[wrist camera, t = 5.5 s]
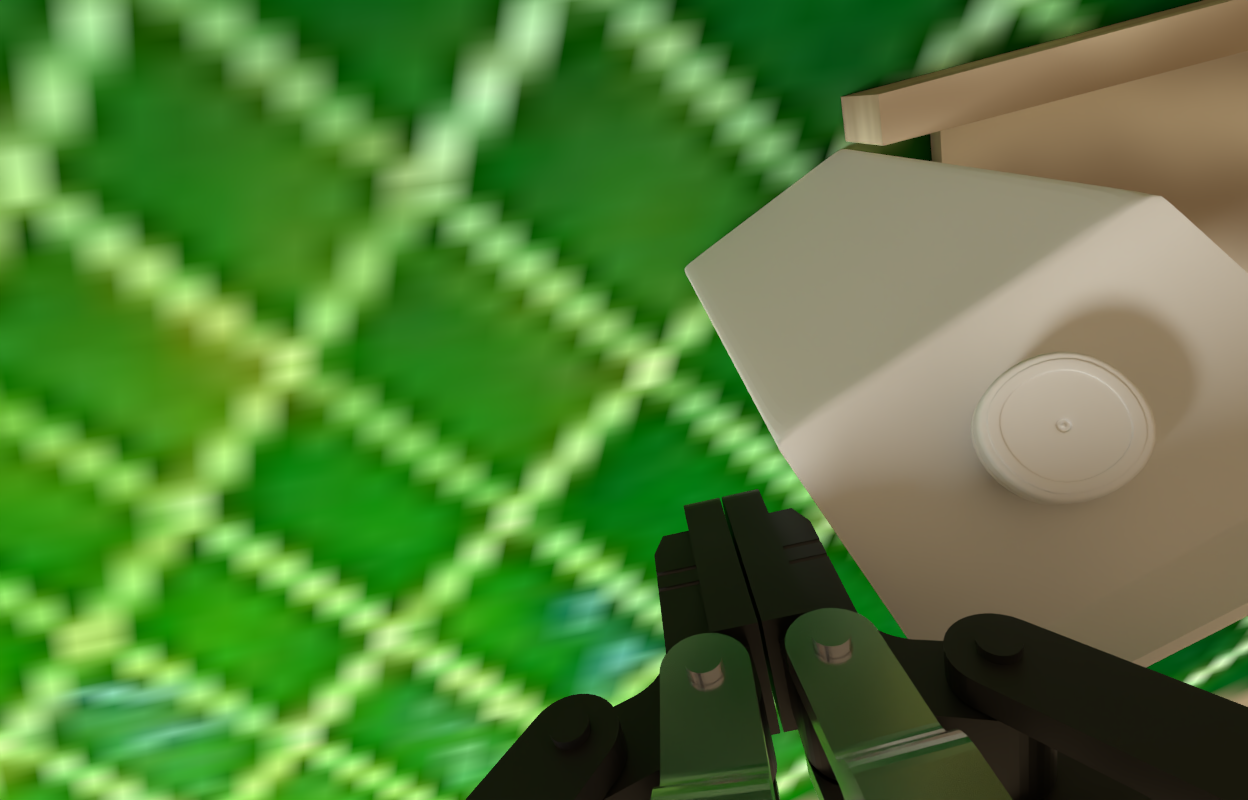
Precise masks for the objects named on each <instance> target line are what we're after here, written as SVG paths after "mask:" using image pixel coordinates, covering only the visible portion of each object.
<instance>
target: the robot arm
mask: <svg viewBox="0 0 1248 800" xmlns="http://www.w3.org/2000/svg"><path fill="white" fill-rule="evenodd" d="M722 502H723V507H724V511H723V508H722V505H721V501H720V498H716V499H712V500H707V501H702V502H698V503H693V504H689V505H684V510H685V515H686V519H687V524H688V529H689V531H686V532H681V533H676V534H672V535H667V536H663V538H662V540H661V542H660V544H659V546H658V548H657V551H656V553H655V563H656V572H657V580H658V588H659V597H660V605H661V613H662V622H663V630H664V638H665V647H666V655H665V657H664V659H663V661H662V663H661V667H660V674H659V675H658V677H657V678H656V679H655V680H654V682H653V683H652V684H651V685H649V686H648V687H647V688H646V689H645V690H643V691H642V692H641V693H639V694H637V695H636V696H634V697H632V698H630V699H628V700H626V701H624V702H622V703H620V704H618V705H616V706H614V707H613V706H612V705H611V704H610V703H609V702H608V701H607V700H605V699H603V698H602V697H599V696H596V695H591V694H577V695H571V696H568V697H565V698H563V699H560V700H558V701H556V702H554V703H553V704H551V705H550V706H548V707H547V708H546V709H545V710H543V711H542V712H541V713H540V714H539V715H538V716H537V718H536V719H535V720H534V721H533V722H532V723H531V725H530V726H529V727H528V728H527V729H526V730H525V731H524V733H523V734H522V735H521V736H520V737H519V738H518V740H517V741H516V742H515V743H514V744H513V745H512V746H511V748H510V749H509V750H508V751H507V752H506V753H505V755H504V756H503V757H502V758H501V759H500V760H499V761H498V763H497V764H496V765H495V766H494V767H493V768H492V770H491V771H490V772H489V773H488V774H487V775H486V777H485V778H484V779H483V780H482V781H481V782H480V783H479V785H478V786H477V787H476V788H475V789H474V790H473V792H472V793H471V794H470V795H469V796H468V797H467V798H466V800H780V797H779V792H778V786H777V781H776V772H777V762H776V756H775V751H774V747H773V742H772V737H771V735H773V734H778V733H780V729H779V724H778V719H777V714H776V709H775V704H774V700H775V703H776V707H777V710H778V714H779V717H780V720H781V724H782V727H783V730H784V732H787V731H792V730H797V729H798V731H799V734H800V737H801V741H802V744H803V747H804V750H805V756H806V761H807V766H808V772H809V775H810V778H811V781H812V783H813V786H814V788H815V791H816V793H817V796H818V798H819V800H1248V707H1246V706H1243V705H1241V704H1238V703H1236V702H1233V701H1230V700H1228V699H1225V698H1223V697H1220V696H1218V695H1215V694H1212V693H1210V692H1207V691H1205V690H1202V689H1199V688H1197V687H1194V686H1192V685H1189V684H1187V683H1184V682H1181V681H1179V680H1176V679H1174V678H1171V677H1168V676H1166V675H1163V674H1161V673H1158V672H1156V671H1153V670H1150V669H1148V668H1145V667H1143V666H1140V665H1137V664H1135V663H1132V662H1130V661H1127V660H1125V659H1122V658H1119V657H1117V656H1114V655H1112V654H1109V653H1106V652H1104V651H1101V650H1099V649H1096V648H1094V647H1091V646H1088V645H1086V644H1083V643H1081V642H1078V641H1075V640H1073V639H1070V638H1068V637H1065V636H1063V635H1060V634H1057V633H1055V632H1052V631H1050V630H1047V629H1044V628H1042V627H1039V626H1037V625H1034V624H1032V623H1029V622H1026V621H1024V620H1021V619H1018V618H1015V617H1012V616H1007V615H1003V614H993V613H983V614H975V615H971V616H967V617H964V618H962V619H960V620H958V621H956V622H955V623H953V624H952V625H951V626H950V627H949V628H948V630H947V632H946V633H945V636H944V640H943V641H935V640H915V639H905V638H900V637H895V636H892V635H889V634H886V633H883V632H881V631H879V630H877V628H876V627H875V626H874V625H873V623H872V622H870V621H869V620H868V619H867V618H865V617H864V616H862V615H860V614H858V613H857V611H856V609H855V607H854V605H853V604H852V602H851V600H850V598H849V596H848V594H847V592H846V590H845V588H844V586H843V584H842V582H841V580H840V578H839V576H838V574H837V572H836V571H835V569H834V567H833V565H832V563H831V561H830V559H829V557H827V554H826V551H825V549H824V547H823V545H822V543H821V542H820V541H819V537H818V536H817V534H816V532H815V530H814V528H813V526H812V524H811V522H810V521H809V520H808V519H806V518H805V517H803V516H802V515H801V514H799V513H798V512H796V511H795V510H793V509H792V508H790V509H786V510H781V511H777V512H772V513H768V511H767V508H766V506H765V504H764V501H763V499H762V496H761V494H760V492H759V490H758V489H756V490H752V491H747V492H743V493H738V494H734V495H729V496H725V497H722ZM724 512H725V514H724ZM772 693H773V695H772ZM773 697H774V699H773Z"/></svg>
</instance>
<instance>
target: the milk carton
mask: <svg viewBox="0 0 1248 800" xmlns="http://www.w3.org/2000/svg"><path fill="white" fill-rule="evenodd" d="M685 273H686V275H687V277H688V279H689V281H690V282H691V284H692V286H693V288H694V290H695V292H696V294H697V296H698V297H699V299H700V301H701V303H702V305H703V307H704V309H705V311H706V312H707V314H708V316H709V318H710V320H711V322H712V324H713V326H714V328H715V329H716V331H717V333H718V335H719V337H720V339H721V341H722V343H723V344H724V346H725V348H726V350H727V352H728V354H729V356H730V358H731V359H732V361H733V363H734V365H735V367H736V369H737V371H738V373H739V374H740V376H741V378H742V380H743V382H744V384H745V386H746V388H747V390H748V391H749V393H750V395H751V397H752V399H753V401H754V403H755V405H756V406H757V408H758V410H759V412H760V414H761V416H762V418H763V420H764V421H765V423H766V425H767V427H768V429H769V431H770V433H771V435H772V436H773V438H774V440H775V442H776V444H777V446H778V448H779V450H780V452H781V453H782V455H783V456H784V458H785V459H786V461H787V462H788V463H789V465H790V466H791V468H792V469H793V471H794V472H795V474H796V475H797V477H798V478H799V480H800V481H801V483H802V484H803V485H804V487H805V488H806V490H807V491H808V493H809V494H810V496H811V497H812V499H813V500H814V502H815V503H816V505H817V506H818V507H819V509H820V510H821V512H822V513H823V515H824V516H825V518H826V519H827V521H828V522H829V524H830V525H831V527H832V528H833V529H834V531H835V532H836V534H837V535H838V537H839V538H840V540H841V541H842V543H843V544H844V546H845V547H846V549H847V550H848V551H849V553H850V554H851V556H852V557H853V559H854V560H855V562H856V563H857V565H858V566H859V568H860V569H861V570H862V572H863V573H864V575H865V576H866V578H867V579H868V581H869V582H870V584H871V585H872V587H873V588H874V590H875V591H876V592H877V594H878V595H879V597H880V598H881V600H882V601H883V603H884V604H885V606H886V607H887V609H888V610H889V612H890V613H891V614H892V616H893V617H894V619H895V620H896V622H897V623H898V625H899V626H900V628H901V629H902V631H903V632H904V634H905V635H906V636H907V638H908V639H915V640H935V641H943V640H944V636H945V633H946V632H947V630H948V628H949V627H950V626H951V625H952V624H953V623H955V622H956V621H958V620H960V619H962V618H964V617H967V616H971V615H975V614H983V613H993V614H1003V615H1007V616H1012V617H1015V618H1018V619H1021V620H1024V621H1026V622H1029V623H1032V624H1034V625H1037V626H1039V627H1042V628H1044V629H1047V630H1050V631H1052V632H1055V633H1057V634H1060V635H1063V636H1065V637H1068V638H1070V639H1073V640H1075V641H1078V642H1081V643H1083V644H1086V645H1088V646H1091V647H1094V648H1096V649H1099V650H1101V651H1104V652H1106V653H1109V654H1112V655H1114V656H1117V657H1119V658H1122V659H1125V660H1127V661H1130V662H1132V663H1135V664H1137V665H1140V666H1143V667H1145V668H1146V667H1148V666H1150V665H1152V664H1154V663H1156V662H1158V661H1159V660H1161V659H1163V658H1165V657H1167V656H1169V655H1171V654H1173V653H1175V652H1177V651H1179V650H1181V649H1183V648H1185V647H1187V646H1189V645H1191V644H1193V643H1195V642H1197V641H1199V640H1201V639H1203V638H1205V637H1207V636H1209V635H1211V634H1213V633H1215V632H1217V631H1219V630H1221V629H1223V628H1225V627H1226V626H1228V625H1230V624H1232V623H1234V622H1236V621H1238V620H1240V619H1242V618H1244V617H1246V616H1248V273H1247V272H1246V271H1245V270H1244V269H1243V268H1241V267H1240V266H1239V265H1238V264H1237V263H1236V262H1235V261H1234V260H1233V259H1232V258H1230V257H1229V256H1228V255H1227V254H1226V253H1225V252H1224V251H1223V250H1222V249H1221V248H1219V247H1218V246H1217V245H1216V244H1215V243H1214V242H1213V241H1212V240H1211V239H1210V238H1208V237H1207V236H1206V235H1205V234H1204V233H1203V232H1202V231H1201V230H1200V229H1199V228H1197V227H1196V226H1195V225H1194V224H1193V223H1192V222H1191V221H1190V220H1189V219H1188V218H1186V217H1185V216H1184V215H1183V214H1182V213H1181V212H1180V211H1179V210H1177V209H1176V208H1175V207H1174V206H1173V205H1172V204H1171V203H1169V202H1168V201H1167V200H1166V199H1165V198H1163V197H1162V196H1157V195H1151V194H1146V193H1141V192H1136V191H1130V190H1124V189H1117V188H1110V187H1104V186H1097V185H1090V184H1083V183H1076V182H1070V181H1063V180H1056V179H1049V178H1042V177H1035V176H1028V175H1021V174H1015V173H1008V172H1001V171H994V170H987V169H980V168H973V167H966V166H959V165H953V164H946V163H939V162H932V161H925V160H918V159H911V158H904V157H898V156H891V155H884V154H877V153H870V152H863V151H856V150H849V149H841V150H839V151H837V152H836V153H834V154H833V155H831V156H830V157H829V158H827V159H826V160H825V161H823V162H822V163H821V164H819V165H818V166H817V167H815V168H814V169H813V170H811V171H810V172H809V173H807V174H806V175H805V176H803V177H802V178H801V179H800V180H798V181H797V182H796V183H794V184H793V185H792V186H790V187H789V188H788V189H786V190H785V191H784V192H782V193H781V194H780V195H778V196H777V197H776V198H774V199H773V200H772V201H771V202H769V203H768V204H767V205H765V206H764V207H763V208H761V209H760V210H759V211H757V212H756V213H755V214H753V215H752V216H751V217H749V218H748V219H747V220H745V221H744V222H743V223H742V224H740V225H739V226H738V227H736V228H735V229H734V230H732V231H731V232H730V233H728V234H727V235H726V236H724V237H723V238H722V239H720V240H719V241H718V242H716V243H715V244H714V245H713V246H711V247H710V248H709V249H707V250H706V251H705V252H703V253H702V254H701V255H699V256H698V257H697V258H696V259H694V260H693V261H692V262H691V263H689V264H688V265H687V266H686V268H685Z"/></svg>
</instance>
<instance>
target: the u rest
mask: <svg viewBox="0 0 1248 800" xmlns="http://www.w3.org/2000/svg"><path fill="white" fill-rule="evenodd" d="M841 102H842V112H843V121H844V130H845V139H846V142H855V143H863V144H872V145H880V146H884V145H888V144H892V143H896V142H900V141H903V140H907V139H911V138H915V137H919V136H923V135H926V134H930V137H931V153H932V162H939V163H946V164H953V165H959V166H966V167H973V168H980V169H987V170H994V171H1001V172H1008V173H1015V174H1021V175H1028V176H1035V177H1042V178H1049V179H1056V180H1063V181H1070V182H1076V183H1083V184H1090V185H1097V186H1104V187H1110V188H1117V189H1124V190H1130V191H1136V192H1141V193H1146V194H1151V195H1157V196H1162V197H1163V198H1165V199H1166V200H1167V201H1168V202H1169V203H1171V204H1172V205H1173V206H1174V207H1175V208H1176V209H1177V210H1179V211H1180V212H1181V213H1182V214H1183V215H1184V216H1185V217H1186V218H1188V219H1189V220H1190V221H1191V222H1192V223H1193V224H1194V225H1195V226H1196V227H1197V228H1199V229H1200V230H1201V231H1202V232H1203V233H1204V234H1205V235H1206V236H1207V237H1208V238H1210V239H1211V240H1212V241H1213V242H1214V243H1215V244H1216V245H1217V246H1218V247H1219V248H1221V249H1222V250H1223V251H1224V252H1225V253H1226V254H1227V255H1228V256H1229V257H1230V258H1232V259H1233V260H1234V261H1235V262H1236V263H1237V264H1238V265H1239V266H1240V267H1241V268H1243V269H1244V270H1245V271H1246V272H1247V273H1248V0H1203V1H1199V2H1195V3H1192V4H1188V5H1184V6H1180V7H1177V8H1173V9H1169V10H1165V11H1162V12H1158V13H1154V14H1150V15H1147V16H1143V17H1139V18H1135V19H1132V20H1128V21H1124V22H1120V23H1117V24H1113V25H1109V26H1105V27H1102V28H1098V29H1094V30H1090V31H1087V32H1083V33H1079V34H1075V35H1072V36H1068V37H1064V38H1060V39H1057V40H1053V41H1049V42H1045V43H1042V44H1038V45H1034V46H1030V47H1027V48H1023V49H1019V50H1015V51H1012V52H1008V53H1004V54H1000V55H997V56H993V57H989V58H985V59H982V60H978V61H974V62H970V63H967V64H963V65H959V66H955V67H952V68H948V69H944V70H940V71H937V72H933V73H929V74H925V75H922V76H918V77H914V78H910V79H907V80H903V81H899V82H895V83H892V84H888V85H884V86H880V87H877V88H873V89H869V90H865V91H862V92H858V93H854V94H850V95H847V96H843V97H841Z"/></svg>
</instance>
